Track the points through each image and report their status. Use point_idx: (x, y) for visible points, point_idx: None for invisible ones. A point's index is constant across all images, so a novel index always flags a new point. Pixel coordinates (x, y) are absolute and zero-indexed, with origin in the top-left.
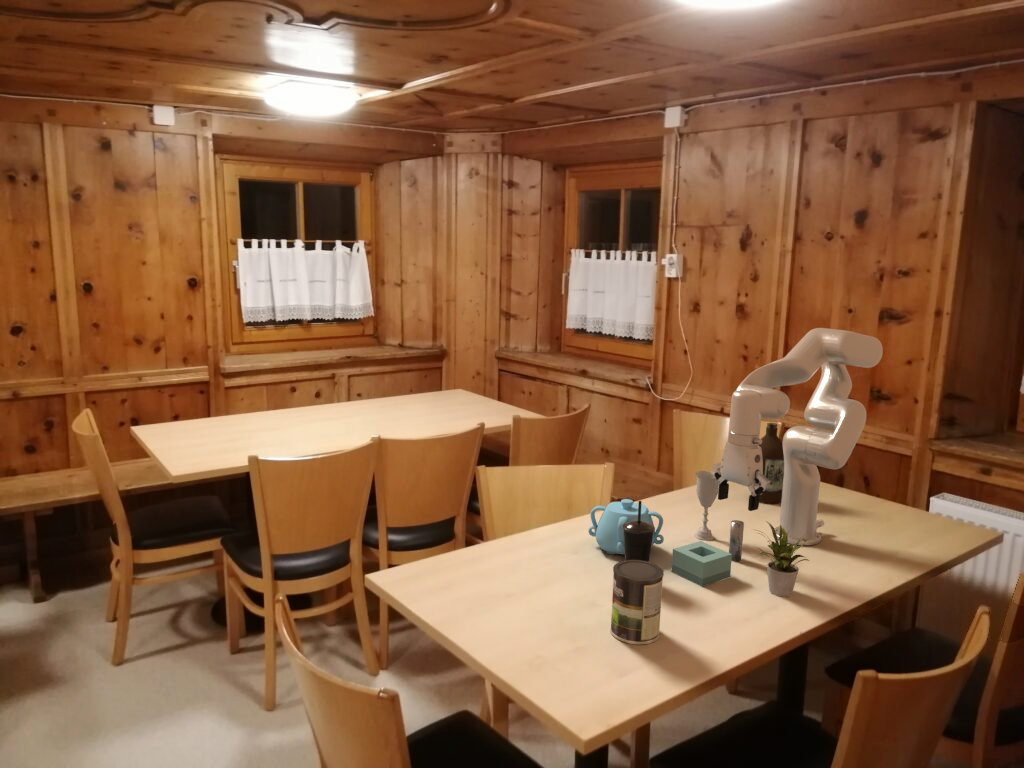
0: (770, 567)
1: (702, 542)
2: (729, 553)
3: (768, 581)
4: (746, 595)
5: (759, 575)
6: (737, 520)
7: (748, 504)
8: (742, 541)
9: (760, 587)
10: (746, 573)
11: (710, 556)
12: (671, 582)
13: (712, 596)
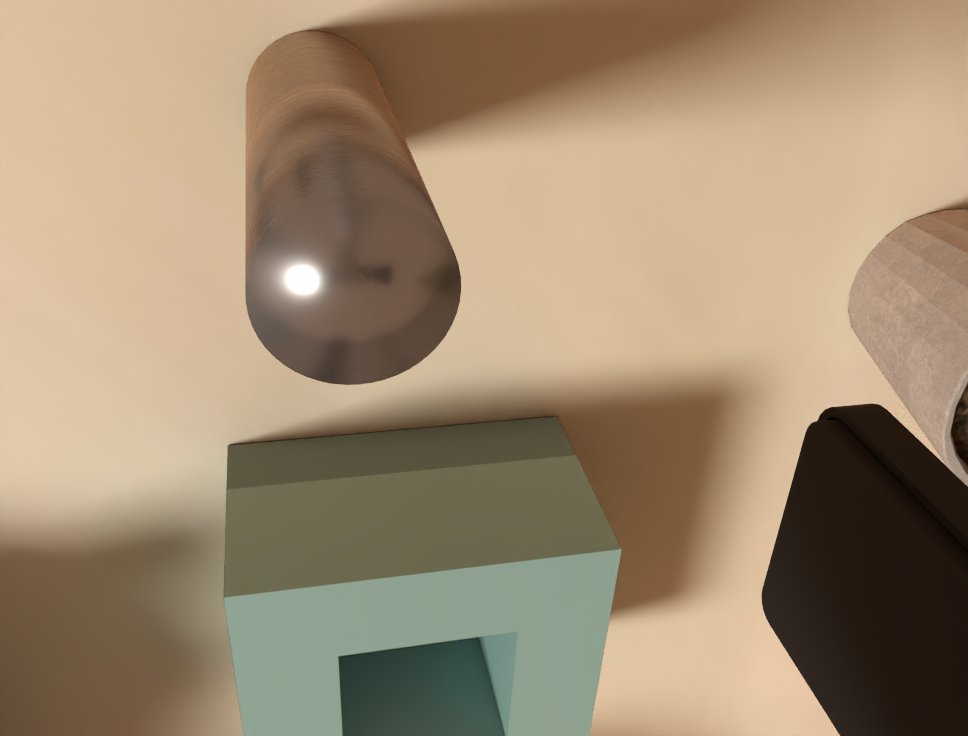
0: (965, 441)
1: (266, 605)
2: (599, 556)
3: (891, 385)
4: (778, 498)
5: (686, 195)
6: (287, 229)
7: (818, 696)
8: (403, 136)
9: (791, 350)
10: (593, 259)
11: (539, 700)
12: None
13: (648, 649)
